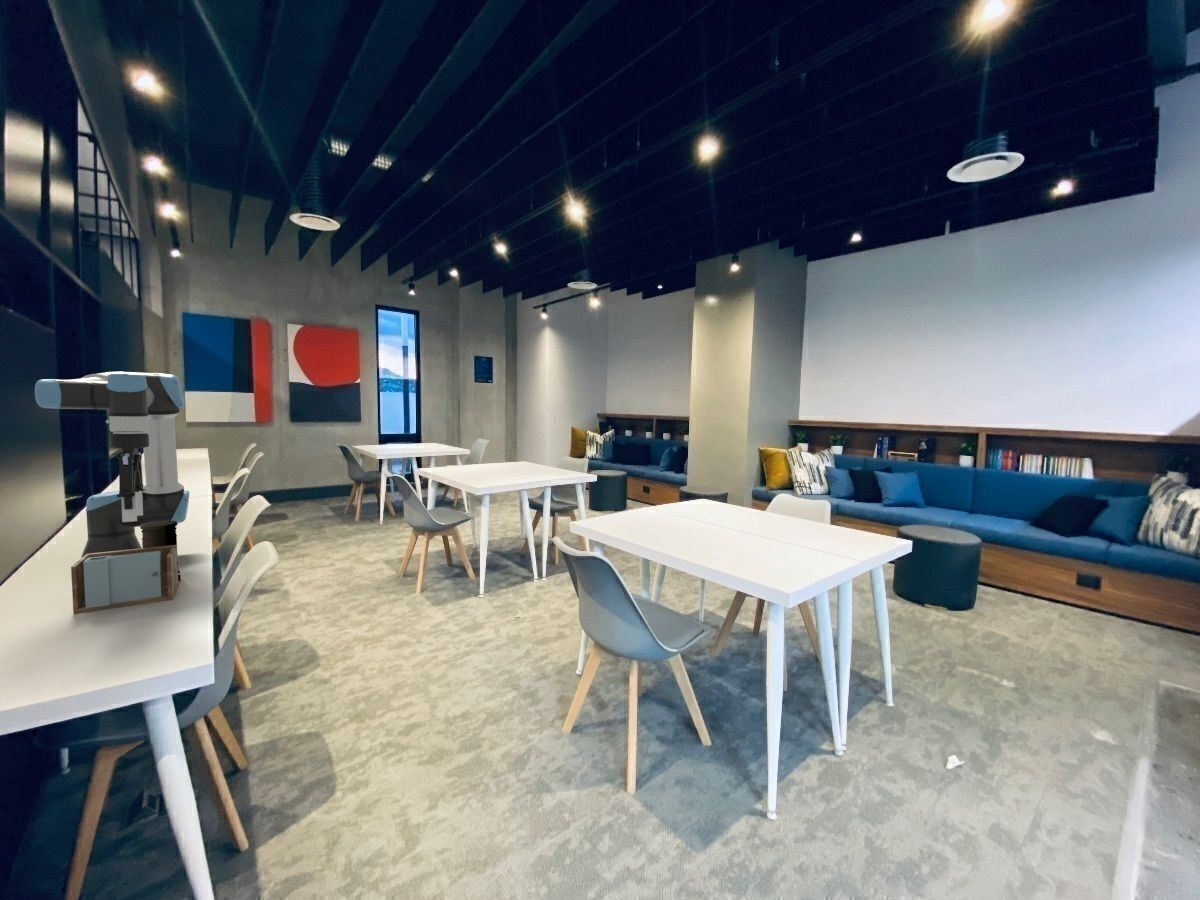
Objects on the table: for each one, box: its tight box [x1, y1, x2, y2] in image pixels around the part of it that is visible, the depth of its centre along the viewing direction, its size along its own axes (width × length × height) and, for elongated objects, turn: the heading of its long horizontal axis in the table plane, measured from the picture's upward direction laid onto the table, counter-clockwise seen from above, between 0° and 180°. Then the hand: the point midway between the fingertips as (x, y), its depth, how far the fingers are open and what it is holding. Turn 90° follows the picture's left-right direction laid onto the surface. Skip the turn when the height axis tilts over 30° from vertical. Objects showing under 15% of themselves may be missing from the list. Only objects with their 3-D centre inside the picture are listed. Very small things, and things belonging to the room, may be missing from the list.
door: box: [83, 551, 163, 608], centre depth 132 cm, size 5×14×12 cm, turn 125°
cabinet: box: [70, 544, 179, 615], centre depth 136 cm, size 14×19×12 cm
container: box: [139, 521, 182, 582], centre depth 149 cm, size 9×9×18 cm
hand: (133, 518), depth 132 cm, fingers open, 8 cm apart
